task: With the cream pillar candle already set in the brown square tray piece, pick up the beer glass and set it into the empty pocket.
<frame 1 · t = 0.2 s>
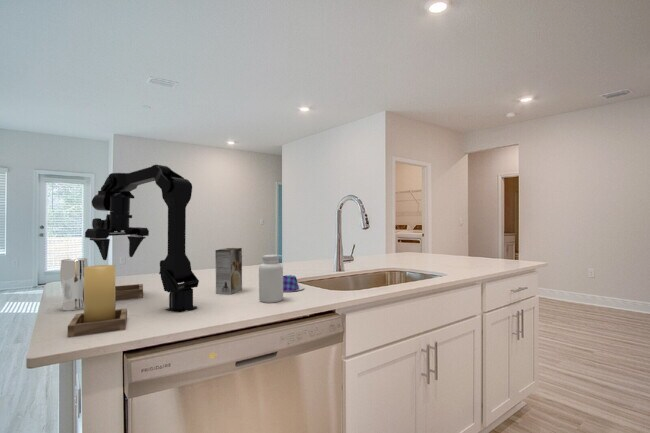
hand: (118, 258, 114), 14 cm above the worktop, tool pointing down, fingers open, 9 cm apart
pill bottle: (271, 300, 114), on the worktop
beer glass: (74, 308, 106), on the worktop
empty pocket: (124, 296, 121), on the worktop
brown square tray piece: (100, 328, 86), on the worktop
coffee box: (229, 292, 128), on the worktop
plaid hat: (288, 290, 132), on the worktop
cream pillar candle: (100, 326, 86), resting on brown square tray piece
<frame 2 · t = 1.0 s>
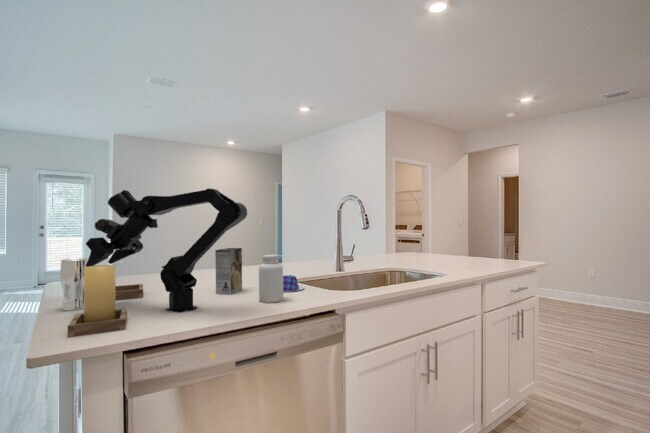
hand: (98, 264, 105), 13 cm above the worktop, tool tilted 45°, fingers open, 9 cm apart
nothing on the worktop moved.
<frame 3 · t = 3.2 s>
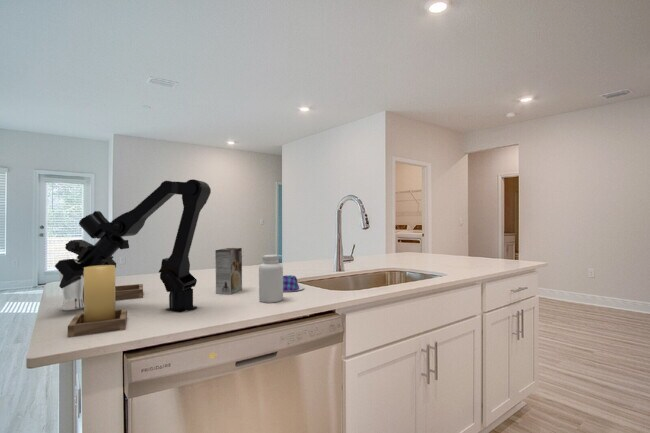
hand: (70, 285, 106), 7 cm above the worktop, tool tilted 45°, fingers closed on beer glass, 7 cm apart
beer glass: (74, 308, 106), on the worktop, touching gripper
everything else where it was.
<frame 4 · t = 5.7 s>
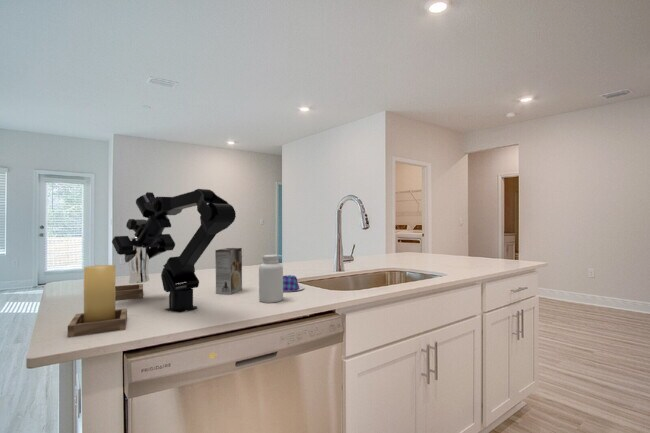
hand: (136, 260, 117), 13 cm above the worktop, tool tilted 45°, fingers closed on beer glass, 6 cm apart
beer glass: (139, 282, 116), point 6 cm above the worktop, touching gripper
everything else where it was.
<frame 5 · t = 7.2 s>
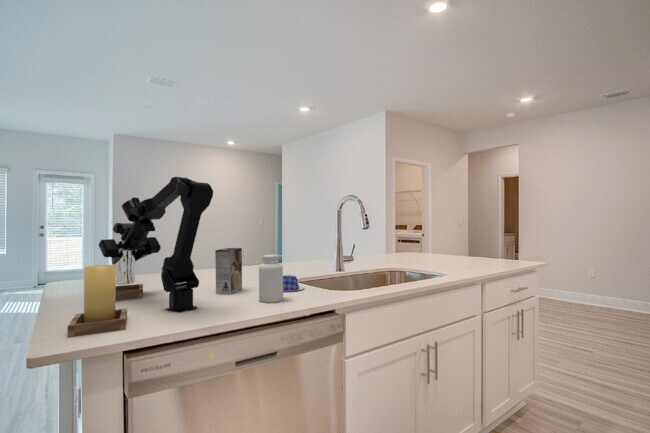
hand: (123, 262, 122), 12 cm above the worktop, tool tilted 45°, fingers closed on beer glass, 6 cm apart
beer glass: (125, 283, 121), point 5 cm above the worktop, touching gripper
everything else where it was.
when the fingers open (8 cm above the worktop, at t = 8.4 s): beer glass stays where it is, resting on empty pocket.
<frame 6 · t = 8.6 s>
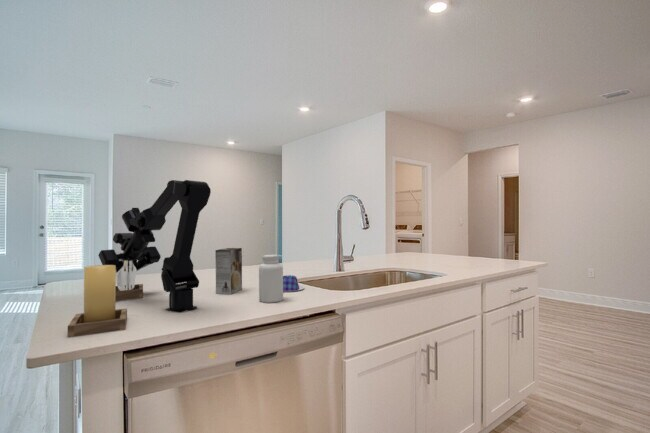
hand: (122, 272, 122), 8 cm above the worktop, tool tilted 45°, fingers open, 8 cm apart
beer glass: (126, 295, 121), resting on empty pocket, touching gripper
everything else where it was.
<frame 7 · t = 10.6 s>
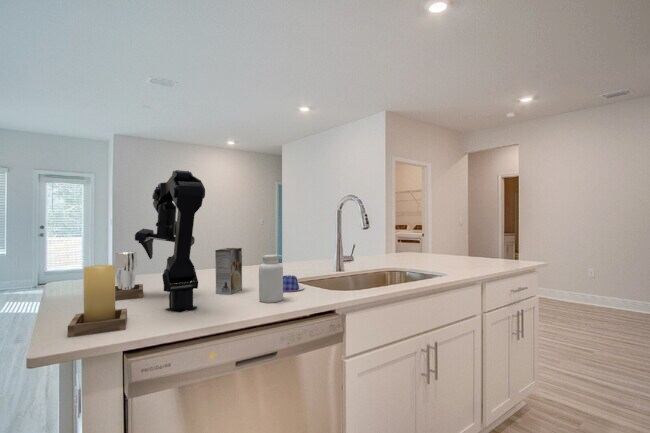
hand: (164, 260, 123), 12 cm above the worktop, tool tilted 20°, fingers open, 9 cm apart
beer glass: (126, 295, 121), resting on empty pocket
everything else where it was.
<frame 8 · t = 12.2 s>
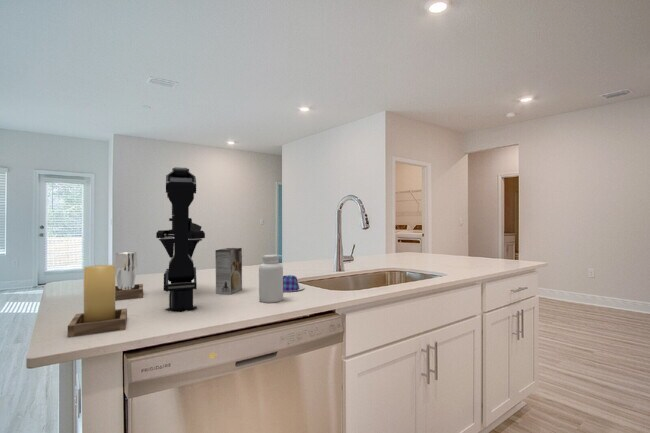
hand: (180, 258, 125), 13 cm above the worktop, tool pointing down, fingers open, 9 cm apart
nothing on the worktop moved.
at the end: beer glass 0.5 cm from the empty pocket (horizontally); beer glass tilted 0°; the gripper is holding nothing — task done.
